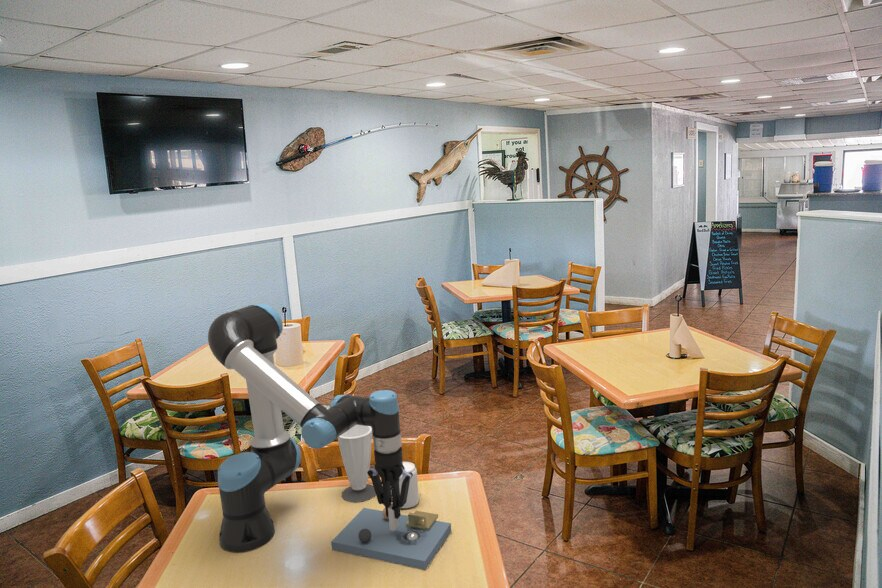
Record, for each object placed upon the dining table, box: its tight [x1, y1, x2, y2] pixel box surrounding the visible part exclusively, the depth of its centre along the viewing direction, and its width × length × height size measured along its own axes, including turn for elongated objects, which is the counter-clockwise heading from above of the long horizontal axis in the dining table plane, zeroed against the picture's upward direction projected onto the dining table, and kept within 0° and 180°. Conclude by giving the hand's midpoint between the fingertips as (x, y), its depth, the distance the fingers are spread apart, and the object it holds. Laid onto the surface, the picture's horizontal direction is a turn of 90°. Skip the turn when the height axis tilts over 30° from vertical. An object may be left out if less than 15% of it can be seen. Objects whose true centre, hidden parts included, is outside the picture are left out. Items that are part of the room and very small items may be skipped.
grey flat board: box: [331, 507, 452, 571], centre depth 170 cm, size 28×18×2 cm, turn 68°
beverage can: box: [399, 461, 420, 509], centre depth 188 cm, size 8×8×12 cm
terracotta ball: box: [382, 507, 389, 519], centre depth 176 cm, size 4×4×4 cm
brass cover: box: [406, 510, 439, 530], centre depth 173 cm, size 7×7×4 cm
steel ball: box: [406, 532, 419, 541], centre depth 167 cm, size 4×4×4 cm
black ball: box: [358, 529, 371, 542], centre depth 166 cm, size 4×4×4 cm
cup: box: [337, 425, 376, 504], centre depth 194 cm, size 12×12×22 cm
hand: (394, 527), depth 169 cm, fingers closed
